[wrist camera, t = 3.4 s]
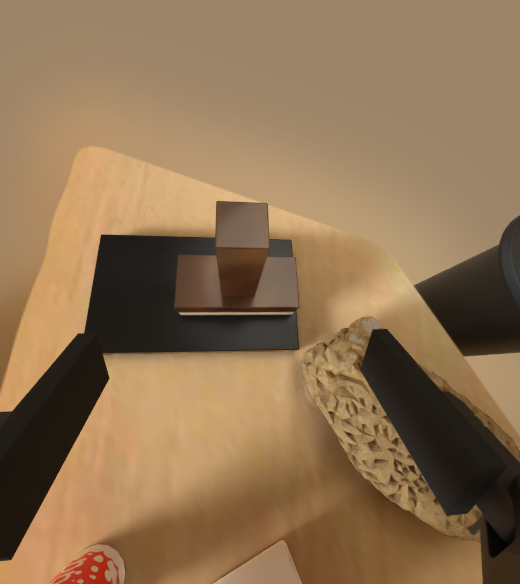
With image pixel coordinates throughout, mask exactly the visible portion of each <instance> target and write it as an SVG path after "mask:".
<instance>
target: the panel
mask: <svg viewBox="0 0 520 584" xmlns="http://www.w3.org/2000/svg"><path fill="white" fill-rule="evenodd" d="M269 245H270V249H269V252H268V255H267V257H293V255H292V241H291V240H280V239H269ZM178 255H215V256H216V250H215V238H207V237H171V236H134V235H101V238H100V244H99V250H98V256H97V262H96V268H95V274H94V280H93V285H92V291H91V297H90V303H89V309H88V315H87V321H86V326H85V332H84V333H96V334H97V337H98V340H99V344H100V347H101V351H102V354H103V355H109V354H161V353H214V352H266V351H296V350H299V342H298V327H297V313H296V311H295V312H294V313H293V314H289V315H180V314H179V312H178V311H177V310H176V309H175V308H174V304H175V290H176V276H177V262H178Z"/></svg>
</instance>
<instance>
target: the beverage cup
mask: <svg viewBox="0 0 520 584" xmlns="http://www.w3.org/2000/svg"><path fill="white" fill-rule="evenodd" d="M124 580H125V568H124V561H123V559H122V558H121V556H120V554H119V553H118V551H117V550H115V549H114V548H112V547H110V546H109V545H100V544H96V545H93V546H91V547H88V548H86V549H84V550H83V551H81V552H80V553H79V554H78V555H77V556H76V557H75V558H74V559H73V560H72V561H71V562H70V563H69V564H68V565H67V566H66V567H65V568H64V569H63V570H62V571H61V572H60V573H59V574H58V575H57V576H56V577H55V578H54V579H53V580H52V581H51V582H50V583H49V584H124Z"/></svg>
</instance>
